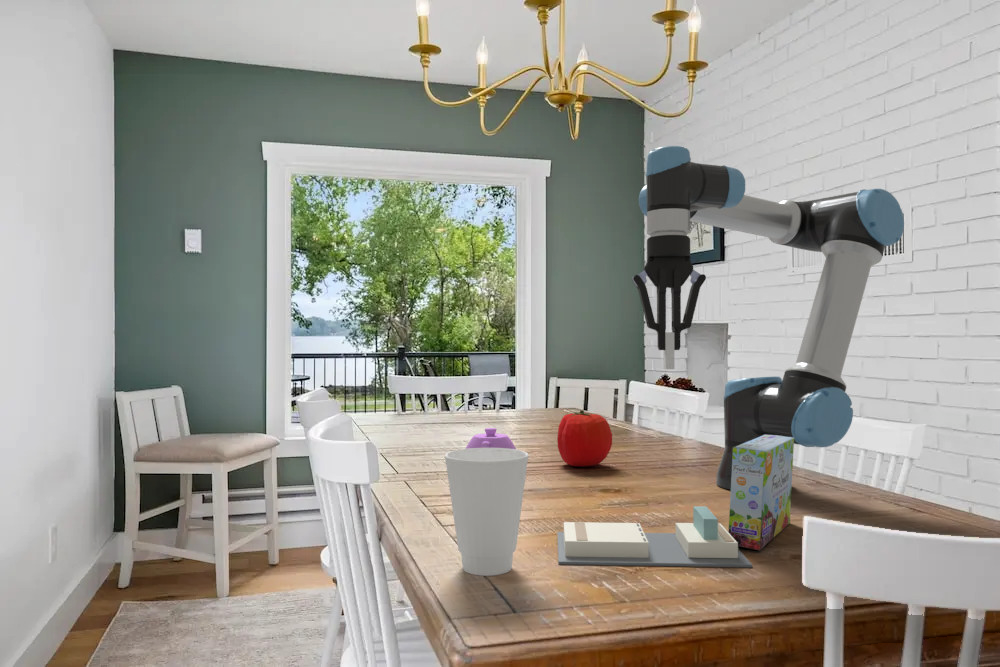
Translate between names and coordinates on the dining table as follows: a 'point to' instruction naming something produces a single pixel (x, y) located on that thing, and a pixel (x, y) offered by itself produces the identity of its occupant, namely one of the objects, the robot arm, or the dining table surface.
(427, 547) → the dining table surface
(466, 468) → the cup
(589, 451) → the tomato
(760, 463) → the snack box
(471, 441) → the teapot
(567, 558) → the board
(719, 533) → the stub
